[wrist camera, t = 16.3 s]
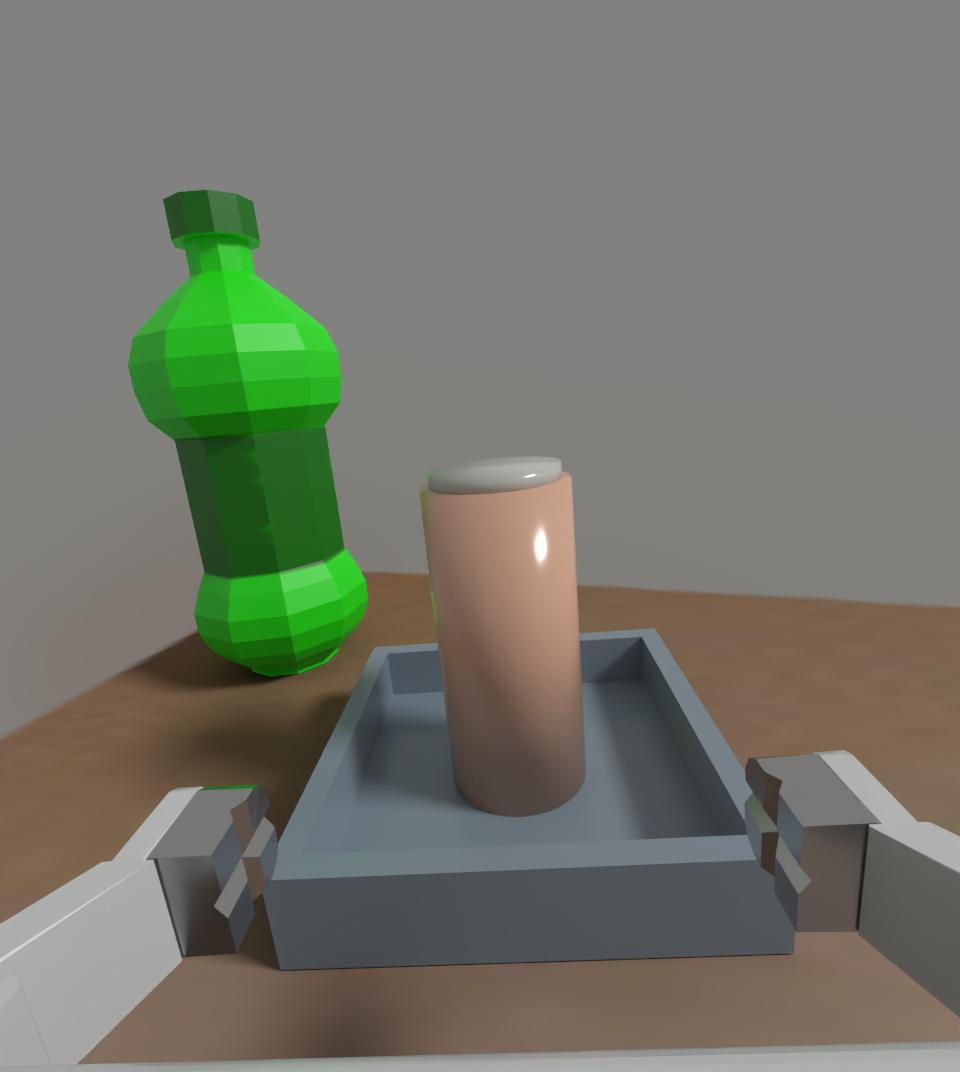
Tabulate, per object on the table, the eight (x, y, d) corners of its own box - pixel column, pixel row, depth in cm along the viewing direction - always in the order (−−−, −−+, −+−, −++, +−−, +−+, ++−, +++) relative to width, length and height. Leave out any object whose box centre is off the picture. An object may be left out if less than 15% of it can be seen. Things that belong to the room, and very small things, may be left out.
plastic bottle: (237, 631, 39) (153, 239, 33) (388, 615, 40) (333, 224, 34) (170, 709, 30) (33, 176, 23) (371, 686, 30) (288, 156, 24)
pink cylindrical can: (447, 820, 19) (405, 485, 16) (458, 732, 24) (427, 462, 21) (595, 813, 19) (579, 470, 16) (577, 726, 24) (562, 451, 21)
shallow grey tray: (280, 969, 15) (259, 881, 15) (382, 701, 29) (374, 647, 28) (793, 953, 15) (799, 858, 14) (655, 684, 28) (654, 628, 27)
